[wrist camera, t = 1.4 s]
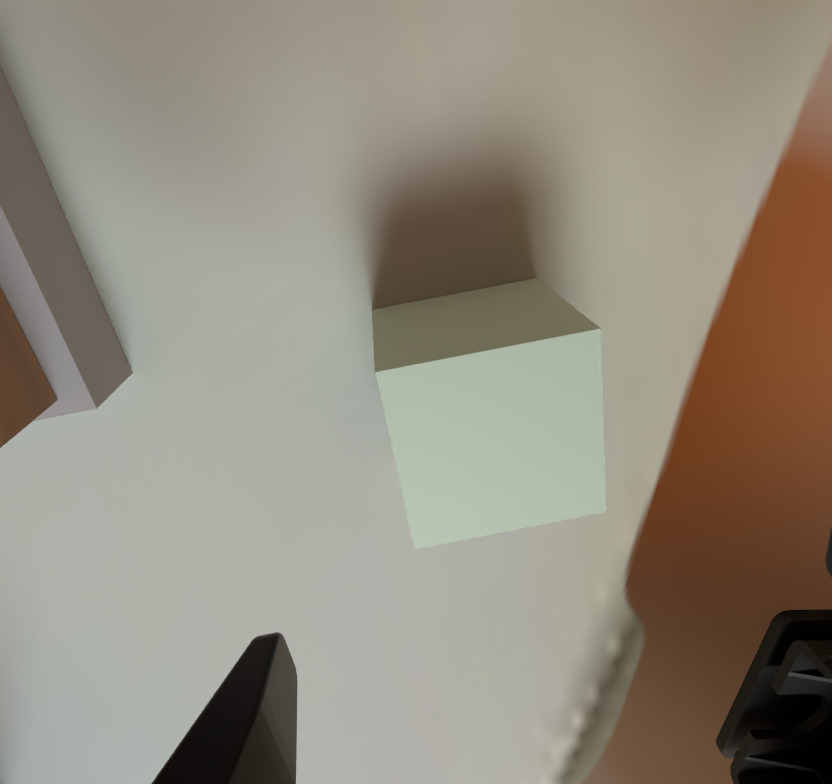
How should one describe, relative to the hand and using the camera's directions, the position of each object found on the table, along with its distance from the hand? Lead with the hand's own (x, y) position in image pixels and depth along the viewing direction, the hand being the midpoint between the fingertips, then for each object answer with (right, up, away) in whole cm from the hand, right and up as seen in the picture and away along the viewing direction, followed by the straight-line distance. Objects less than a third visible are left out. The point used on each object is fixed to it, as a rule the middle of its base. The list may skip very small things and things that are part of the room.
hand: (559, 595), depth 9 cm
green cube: (-1, +4, +9) cm, 10 cm away
